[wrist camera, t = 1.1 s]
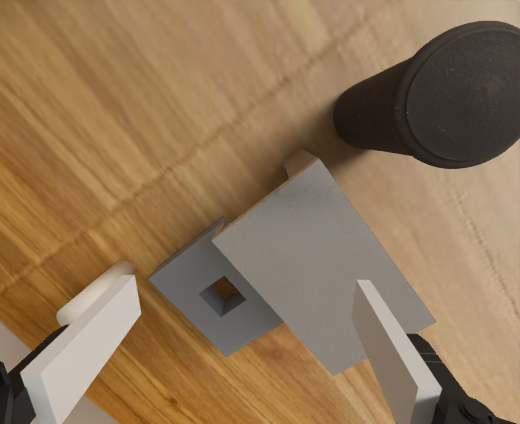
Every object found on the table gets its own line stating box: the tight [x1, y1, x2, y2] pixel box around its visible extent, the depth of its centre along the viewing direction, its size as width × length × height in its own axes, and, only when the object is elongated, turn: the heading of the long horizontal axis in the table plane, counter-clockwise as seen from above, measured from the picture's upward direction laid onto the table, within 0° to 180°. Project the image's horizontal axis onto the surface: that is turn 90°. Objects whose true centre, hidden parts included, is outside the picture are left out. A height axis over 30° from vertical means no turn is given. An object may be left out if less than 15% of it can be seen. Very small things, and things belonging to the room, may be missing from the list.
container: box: [334, 21, 520, 169], centre depth 25 cm, size 9×9×20 cm
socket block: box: [148, 217, 284, 357], centre depth 41 cm, size 18×14×4 cm
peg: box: [56, 260, 136, 327], centre depth 37 cm, size 4×4×12 cm
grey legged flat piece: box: [211, 148, 437, 376], centre depth 32 cm, size 20×12×15 cm, turn 38°
